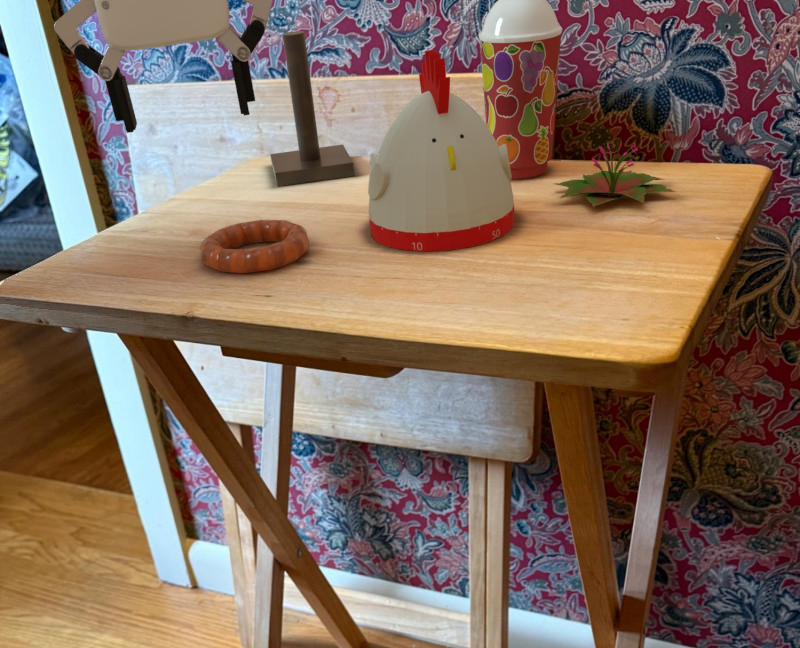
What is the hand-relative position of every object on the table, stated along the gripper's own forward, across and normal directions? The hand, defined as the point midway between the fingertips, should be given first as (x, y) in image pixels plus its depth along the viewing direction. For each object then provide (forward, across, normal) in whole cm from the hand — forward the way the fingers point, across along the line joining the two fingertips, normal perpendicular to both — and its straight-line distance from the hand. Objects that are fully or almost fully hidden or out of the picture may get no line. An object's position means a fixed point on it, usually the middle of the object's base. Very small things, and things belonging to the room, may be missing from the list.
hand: (188, 120), depth 76 cm
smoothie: (+13, -33, -15) cm, 39 cm away
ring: (+11, -3, 0) cm, 12 cm away
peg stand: (+12, -11, -27) cm, 32 cm away
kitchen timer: (+13, -21, -1) cm, 25 cm away
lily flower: (+13, -39, -3) cm, 42 cm away
